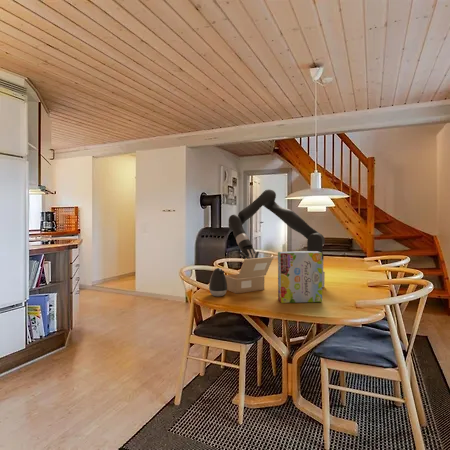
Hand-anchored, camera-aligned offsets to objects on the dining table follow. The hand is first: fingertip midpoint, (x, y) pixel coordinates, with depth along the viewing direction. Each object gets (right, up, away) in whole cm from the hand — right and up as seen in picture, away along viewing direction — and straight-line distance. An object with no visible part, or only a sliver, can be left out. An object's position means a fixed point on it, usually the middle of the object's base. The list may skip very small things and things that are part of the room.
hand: (255, 266), depth 189 cm
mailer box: (-6, -15, +11) cm, 19 cm away
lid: (0, -1, 0) cm, 1 cm away
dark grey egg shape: (-21, -16, -5) cm, 27 cm away
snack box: (+21, -16, -16) cm, 31 cm away
